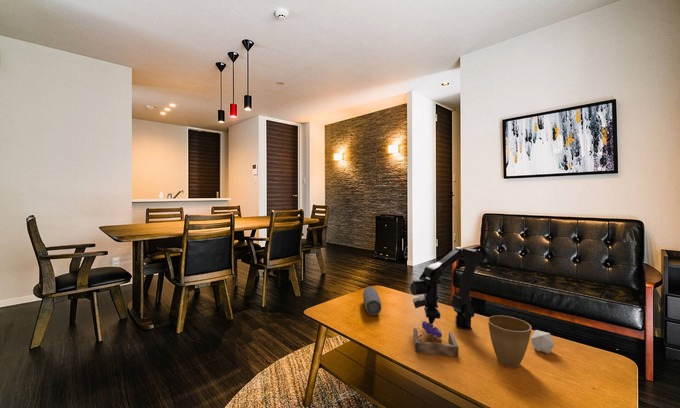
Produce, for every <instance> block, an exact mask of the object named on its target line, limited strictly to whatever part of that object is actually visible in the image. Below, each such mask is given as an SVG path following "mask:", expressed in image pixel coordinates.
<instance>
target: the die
mask: <svg viewBox="0 0 680 408" xmlns="http://www.w3.org/2000/svg"><path fill="white" fill-rule="evenodd" d="M531 335H532V336H530V341H531V344H532V346H533V349H536V350H535V351H537V350H539V351H538V352H540V351H543V352H542V353H544V352H546V353H545V354H548V353H549V354H550V353H551V351H552V349H553V348H554V346H555V342H554V341H553V338H552V337H553V336H551V333H550V332H545V331H541V330H539V329H538V330H537V329H535V330H534V332H533V334H531Z"/></svg>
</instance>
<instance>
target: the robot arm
mask: <svg viewBox="0 0 680 408" xmlns="http://www.w3.org/2000/svg"><path fill="white" fill-rule="evenodd" d="M483 255H484V254H483V253H482V251H481V250H480V249H476V248H472V247H467V248H463V247H461V246H455V247H454V248H453V249H452V250H451V251H450V252H449V253H448V254H446V255H445V256H444V257H442V258H441V259H440V260H438V261H437V262H434V263H430V264H428V265H427V266H425V267H424V268H423V272H422V273H421V275H420V276H419V278H418V279H414V280H413V279H412V282H411V283H410V285H409V291H410V293H411V295H413V296H418V297H415V298H412V302H413V305H414V308H415V309H419V308H422V307H423V308H424V309H423V310H424V313H425V318H426V319H427V320H428V323H431V324H432V325H434V322H435V321H434V320H436V319H438V320H439V319H441V312H440V311H439V303H438V301H439V285H443V282H442V281H441V280H440V279H441V278H442V276H443V275H444V272H445V271H446V270H447V269H448V268H449V267H451V266H452V265H454V264H455V263H456V262H457V261H459V259H461V258H462V257H463V262H464V268H463V272H462V277H461V280H460V285H459V289H458V292H457V293H456V295H455V294H453V295H452V298H451V299H452V300H451V306H452V308H453V311H454V313H456V315H455V316H454V317H455V319H454V320H455V321H454V323H455V325H456V328H458V329H462V330H463V329H464V330H472V329H473V328H472V318H474V317H475V314H476V313H475V311H474V310H473V309H472V308H471V303H472V301H471V298H470V292H471V288H472V284H473V280H474V278H475V277H474V276H475V272H476V268H477V267H478V266H479V265H480V264H481V262H482V259H483V257H484V256H483ZM420 295H421V296H420ZM422 295H423V296H422ZM430 318H431V319H430Z"/></svg>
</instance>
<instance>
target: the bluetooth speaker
mask: <svg viewBox="0 0 680 408" xmlns="http://www.w3.org/2000/svg"><path fill="white" fill-rule="evenodd" d="M362 297H363V304H364V305H363V306H364V307H365V310H366V312H367V313H368V314H369V315H371V316H376V315H378V314H380V313H381V312H382V302H381V297H380V296H379V293H378V290H376V288H374V287H373V286H367V287H366V288H365V289H364V290H363V292H362Z"/></svg>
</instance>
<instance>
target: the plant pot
mask: <svg viewBox="0 0 680 408" xmlns="http://www.w3.org/2000/svg"><path fill="white" fill-rule="evenodd" d="M487 324H488V330H489V331H488V332H489V335H490V339H491V344H492V347H493V351H494V354H495V356H496V359H497V361H498V363H499V364H500V365H502V366H504V367H507V368H511V369H512V368H513V369H514V368H515V369H516V368H519V367H520V365H521V363H522V361H523V359H524V357H525V354H526V351H527V349H528V346H529V342H530V340H531V335H532V334H531V333H532V330H533V329H532V325H531V324H529V322H526V321H525V320H522V319H520V318H516V317H513V316H509V315H492V316H489V317H488V319H487Z"/></svg>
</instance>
